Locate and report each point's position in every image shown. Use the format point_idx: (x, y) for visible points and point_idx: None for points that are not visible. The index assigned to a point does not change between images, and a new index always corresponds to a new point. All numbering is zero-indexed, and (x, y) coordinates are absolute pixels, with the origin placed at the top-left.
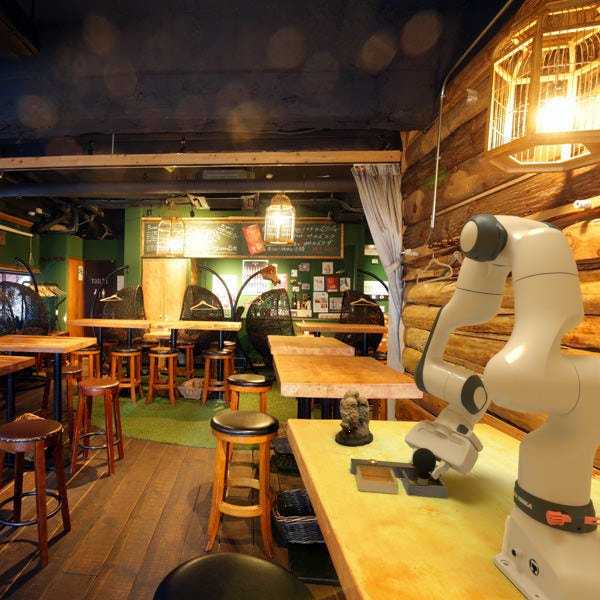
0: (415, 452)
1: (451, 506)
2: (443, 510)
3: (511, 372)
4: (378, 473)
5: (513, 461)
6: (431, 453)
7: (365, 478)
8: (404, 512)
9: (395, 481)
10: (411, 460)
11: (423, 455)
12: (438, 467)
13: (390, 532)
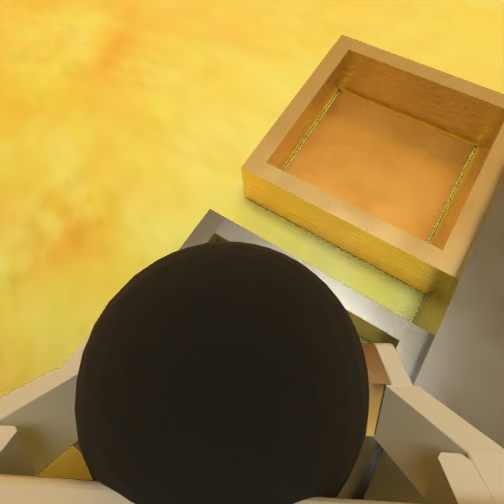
0: (283, 263)
1: (29, 357)
2: (36, 285)
3: None
4: (449, 213)
5: None
6: (90, 411)
7: (432, 151)
8: (124, 129)
9: (272, 172)
10: (379, 354)
11: (147, 273)
12: (36, 390)
13: (74, 32)
